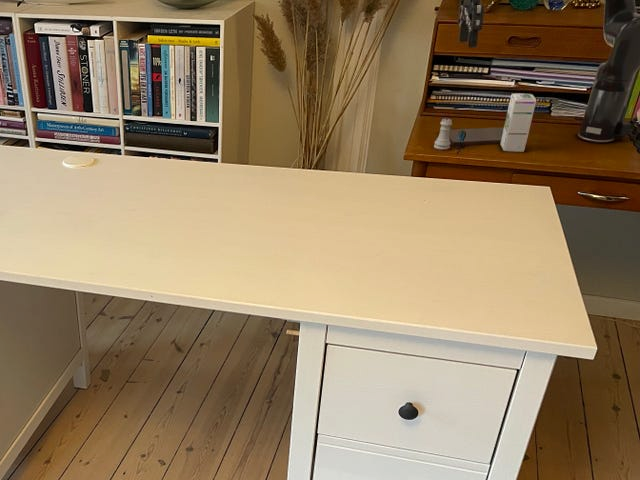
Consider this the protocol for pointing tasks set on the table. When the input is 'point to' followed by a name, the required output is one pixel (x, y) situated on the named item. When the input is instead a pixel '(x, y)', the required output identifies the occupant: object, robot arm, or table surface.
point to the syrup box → (518, 122)
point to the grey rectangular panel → (477, 136)
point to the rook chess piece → (443, 135)
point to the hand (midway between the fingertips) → (467, 44)
